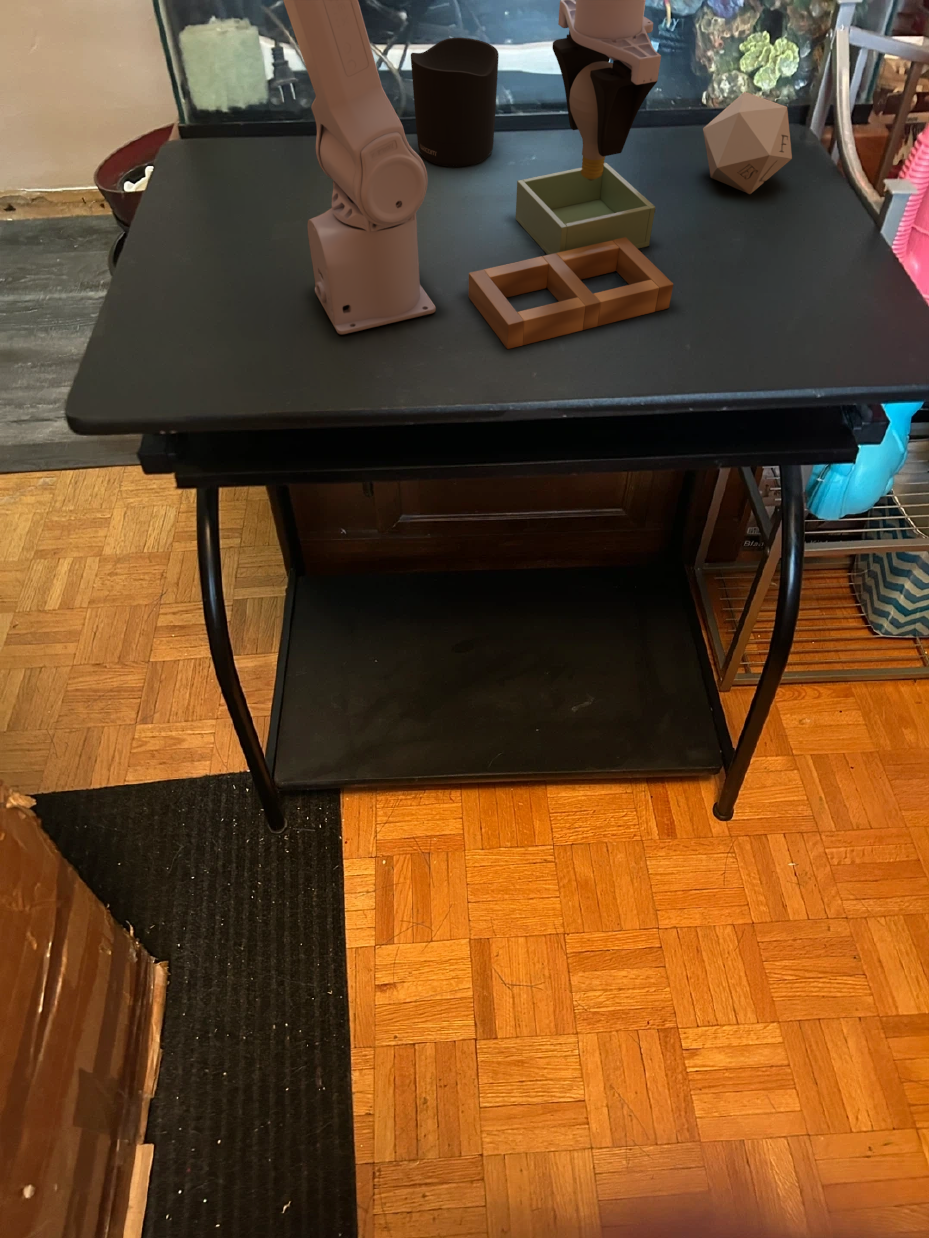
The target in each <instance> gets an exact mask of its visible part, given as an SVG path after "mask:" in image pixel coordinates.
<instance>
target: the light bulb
mask: <svg viewBox="0 0 929 1238" xmlns="http://www.w3.org/2000/svg"><path fill="white" fill-rule="evenodd" d="M609 67H611V68H612V67H613V62H610V61H609V62H606V61H601V62H594V63H591V64H590V65H588V66H586V67H585V68H583V69H582V70H581V71H580V73H579V74H578V75H577V76H576V78H575V80H574V82H573V84H572V87H571V90H570V99H569V102H570V110H571V113H572V116H573V119H574V121H575V123H576V125H577V127H578V129H577V130H578V132H579V134H580V137H581V139H582V149H581V150H582V151H581V156H582V159H581V160H582V162H581V168H582V170H581V175H582V176H583V177H585V178H587V179H588V180H590V181H593V180H594V179H597V178H599V177H601V176H602V174H603V167H604V163H605V160H606V157H607V156H604V157H603V156H601V155H600V154H599V152H598V144H597V132H598V111H597V101H596V95H595V90H594V86H593V83H592V80H591V77H590V71H592V70H598V69H603V68H609Z"/></svg>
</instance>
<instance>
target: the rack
mask: <svg viewBox="0 0 929 1238" xmlns="http://www.w3.org/2000/svg"><path fill="white" fill-rule="evenodd" d="M615 272H616V273H617V274H618V275H619V276H620V277H621V278H622V279H623V280H624V282H626V283H627V284H626V285H623V286H619V287H614V288H610V289H606V290H602V291H599V292H594V293H593V292H592V291H591V290H590V289H589V288H588V286H587V285H586V284H585V283H584V282H583V281H582V280H585V279H589V278H594V277H598V276H602V275H606V274H611V273H615ZM673 288H674V283H673V281H671V279H669V278H668V277H667V276H666V274H664V273H663V272H662V271H661V270H660V269H659V268H658V267H657V266H656V265H655V264H654V263H653V262H652V261H651V260H650V259H649V258H647V256H646V255H645V254H644V253H643V252H641V250H639V248H638V249H637V248H636V247H635V246H634V245H633V244H632V243H631V242H630V241H629V240H628V239H627V238H626V237H624V238H620V239H615V240H611V241H607V242H602V243H598V244H594V245H589V246H585V247H580V248H576V249H572V250H567V251H563V252H559V253H554V254H549V255H547V254H545V255H542V256H540V255H539V256H536V257H532V258H528V259H523V260H519V261H515V262H511V263H507V264H502V265H497V266H493V267H488V268H484V269H480V270H479V269H478V270H475V271H470V272H468V298H469V300H470V301H471V302H472V304H473V306H474V307H475V308H476V309H477V310H478V312H479V313H480V314H481V315H482V317H483V318H484V320H485V321H486V323H487V324H488V326H490V328H491V330H493V332H494V333H495V334H496V336H497V338H498V339H499V340H500V342H501V343H502V344H503V345H504V347H505V348H506V350H510V349H513V348H519V347H522V346H526V345H529V344H533V343H538V342H541V341H544V340H549V339H553V338H557V337H561V336H565V335H569V334H574V333H576V332H581V331H585V330H589V329H593V328H596V327H599V326H600V327H601V326H605V325H609V324H612V323H616V322H620V321H624V320H628V319H633V318H636V317H639V316H643V315H647V314H652V313H655V312H659V311H664V310H667V309H669V308H670V303H671V299H672V294H673V290H674V289H673ZM544 289H547V290H548V291H549V292H550V294H551V295H552V296H553V297H554V298H555V299H556V300H557V302H553V303H547V304H544V305H539V306H536V307H532V308H527V309H524V310H519V311H517V310H516V309H515V307H514V306H513V305H512V304H511V303H510V302H509V300H508V298H510V297H515V296H519V295H524V294H527V293H531V292H536V291H539V290H544Z"/></svg>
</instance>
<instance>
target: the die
mask: <svg viewBox="0 0 929 1238" xmlns="http://www.w3.org/2000/svg"><path fill="white" fill-rule="evenodd" d="M702 133H703V138H704V145H705V150H706V156H707V162H708V163H707V165H708V169H709V175H710V178H711V179H713V180H715V181H718V182H720V183H722V184H725V185H727V186H729V187H731V188H734V189H736V190H739V191H741V192H743V193H746V194H748V195H751V194H752V193H754V192H755V191H756V190H757V189H758V188H759V187H760V186H762V185H763V184H764V183H765V182H766V181H768V180H769V179H770V178H771V177H772V176H774V175H775V174H776V173H777V172H778V171H779V170H781V169H782V168H783V167H784V166H785V165H787V164H788V163H789V162H790V161H791V160H792V159H793V154H792V144H791V133H790V124H789V111H788V107H787V106H786V105H783V104H780V103H777V102H774V101H772V100H769V99H767V98H764V97H761V96H758V95H755V94H753V93H750V92H747V91H744V92H742V93H741V94H740V95H738V97H737V98H736V99H734V100H733V101H732V102H731V103H730V104H729V105H728V106H727V107H726V108H725V109H723V110H722V111H721V112H720V113H719V114H718V115H717V116H715V117H714V118H713V119H712V120H710V122H709V123H707V124H706V125H705V126H704V127H703V128H702Z"/></svg>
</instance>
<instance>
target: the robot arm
mask: <svg viewBox="0 0 929 1238" xmlns="http://www.w3.org/2000/svg"><path fill="white" fill-rule="evenodd" d="M282 1H283V4H284V7H285V9H286V13H287V16H288V19H289V21H290V25H291V28H292V30H293V33H294V36H295V39H296V42H297V45H298V48H299V51H300V55H301V57H302V60H303V62H304V65H305V68H306V71H307V74H308V77H309V81H310V82H311V87H312V89H313V91H314V95H315V97H314V100H313V102H312V104H311V106H310V107H311V108H310V109H311V112H312V114H313V118H314V120H315V121H314V122H315V126H316V139H315V154H316V159H317V162H318V164H319V167H320V168H321V170H322V171H323V173H324V174H325V176H327V177H328V178H329V179H330V180H333V181H332V186H333V187H332V188H333V189H332V194H331V208H329V209H328V210H326V211H324V212H323V213H321V214H318V215H316V216H314V217H311V218H308V220H307V227H306V228H307V238H308V245H309V252H310V257H311V265H312V271H313V277H314V284H315V286H314V293H315V295H316V297H317V298H318V300H319V302H320V304H321V306H322V307H323V309H324V311H325V313H326V315H327V317H328V318H329V320H330V322H331V324H332V325H333V328H334V329H335V331H336V334H339V335H347V334H351V333H355V332H359V331H363V330H367V329H372V328H376V327H380V326H385V325H388V324H393V323H398V322H402V321H406V320H410V319H414V318H418V317H422V316H423V317H424V316H427V315H431V314H434V313H436V311H437V307H436V305H435V304H434V302H433V301H432V299H431V298H430V296H429V295H428V294H427V292H426V291H425V289H424V288H423V286H422V285H421V282H420V280H421V279H420V263H419V261H420V260H419V243H418V241H419V240H418V223H417V222H418V220H417V219H418V218H417V211H418V210H419V209H420V208H421V206H422V205H423V202H424V200H425V198H426V195H427V191H428V185H429V184H428V183H429V181H428V172H427V171H428V170H427V168H426V165H425V163H424V160H423V159H422V158H421V156H420V155H419V154H418V153H417V152H416V151H415V150H414V149H413V148H412V146H411V145H410V144H409V141H408V139H407V136H406V133H405V130H404V126H403V124H402V122H401V120H400V118H399V115H398V114H397V113H396V110H395V109H394V106H393V105H392V102H391V101H390V99H389V98H388V96H387V94H386V92H385V90H384V88H383V86H382V85H383V84H382V81H381V78H380V75H379V71H378V67H377V64H376V60H375V56H374V53H373V50H372V46H371V43H370V42H371V41H370V38H369V35H368V31H367V28H366V24H365V20H364V16H363V13H362V10H361V6H360V2H359V0H282ZM646 2H647V1H646V0H559V9H558V20H557V21H558V23H557V24H558V26H559V27H561V28H562V29H568V33H567V34H566V37H564V38H558V39H555V40H554V41H553V42H552V47H551V48H552V51H553V54H554V56H555V58H556V61H557V64H558V67H559V70H560V73H561V77H562V82H563V86H564V92H565V100H566V107H567V117H568V123H569V127H570V129H571V130H572V131H578V130H579V129H578V127H577V125H576V123H575V121H574V119H573V116H572V113H571V110H570V102H569V99H570V90H571V87H572V84H573V82H574V80H575V78H576V76H577V75H578V74H579V73H580V71H581V70H582V69H583V68H585V67H586V66H588V65H590V64H591V63H594V62H601V61H606V62H610V60H612V63H613V67H612V68H611V67H609V68H603V69H598V70H592V71H590V77H591V80H592V83H593V86H594V90H595V95H596V101H597V111H598V132H597V144H598V152H599V154H600V155H601V156H603V157H604V156H606V157H608V156H614V155H618V154H621V153H623V149H624V147H625V144H626V143H627V140H628V136H629V134H630V131H631V129H632V126H633V123H634V121H635V119H636V116H637V114H638V113H639V110H640V108H641V106H642V104H643V103H644V101H645V100H646V98H647V97H648V95H649V94H650V93H651V91H652V89H653V88H654V87H655V86H656V85H657V83H658V81H659V74H660V66H661V59H662V55H661V54H660V53H659V52H658V51H656V49H655V48H654V46H653V44H652V42H651V39H650V36H649V35H648V34H651V33H653V29H654V22H653V21H652V20H650V19H649V18H647V17H646V16H644V15H645V8H646Z"/></svg>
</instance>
